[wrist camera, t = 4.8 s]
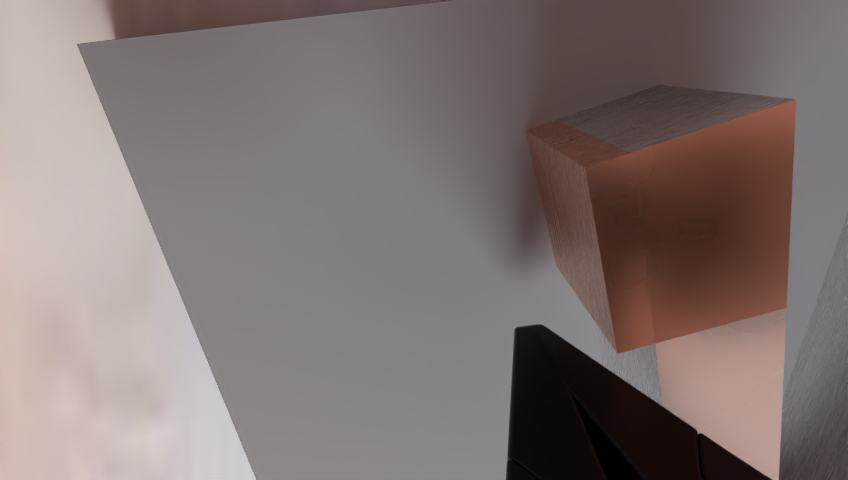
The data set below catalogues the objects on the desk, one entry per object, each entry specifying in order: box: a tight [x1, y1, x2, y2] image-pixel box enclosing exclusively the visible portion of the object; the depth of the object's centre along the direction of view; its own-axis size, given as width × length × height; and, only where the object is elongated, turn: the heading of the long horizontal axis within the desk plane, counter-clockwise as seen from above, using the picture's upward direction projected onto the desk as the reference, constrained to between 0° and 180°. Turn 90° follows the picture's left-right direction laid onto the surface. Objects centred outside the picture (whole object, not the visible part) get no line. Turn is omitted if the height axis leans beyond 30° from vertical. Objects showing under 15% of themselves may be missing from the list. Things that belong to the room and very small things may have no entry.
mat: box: [77, 0, 848, 480], centre depth 12 cm, size 22×20×1 cm
